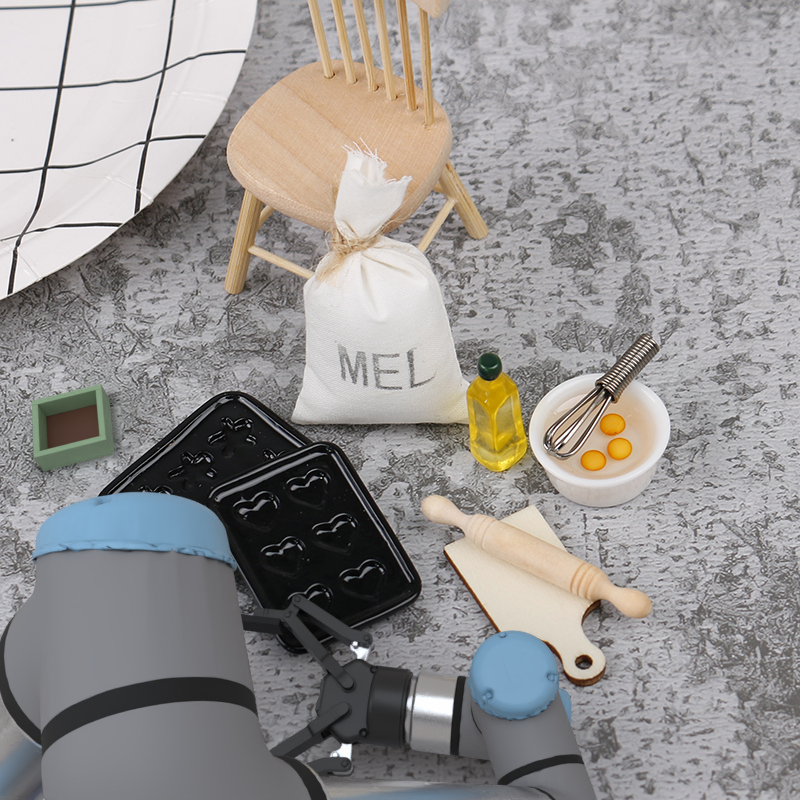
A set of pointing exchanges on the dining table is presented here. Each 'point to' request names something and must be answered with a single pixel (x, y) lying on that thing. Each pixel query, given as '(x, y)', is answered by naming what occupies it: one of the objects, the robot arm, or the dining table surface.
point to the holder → (72, 427)
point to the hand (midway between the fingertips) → (204, 682)
